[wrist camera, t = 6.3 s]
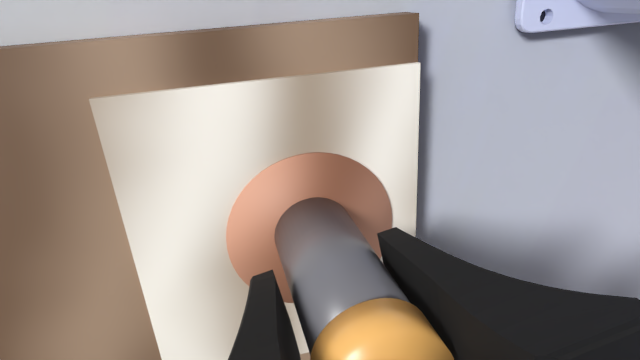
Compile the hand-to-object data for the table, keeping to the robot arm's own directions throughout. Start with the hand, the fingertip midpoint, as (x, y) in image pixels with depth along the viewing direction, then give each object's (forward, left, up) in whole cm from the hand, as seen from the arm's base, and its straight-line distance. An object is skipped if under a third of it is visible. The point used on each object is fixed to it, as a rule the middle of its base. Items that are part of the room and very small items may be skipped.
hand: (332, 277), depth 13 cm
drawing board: (+4, +3, -4) cm, 6 cm away
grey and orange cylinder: (0, 0, -3) cm, 3 cm away
